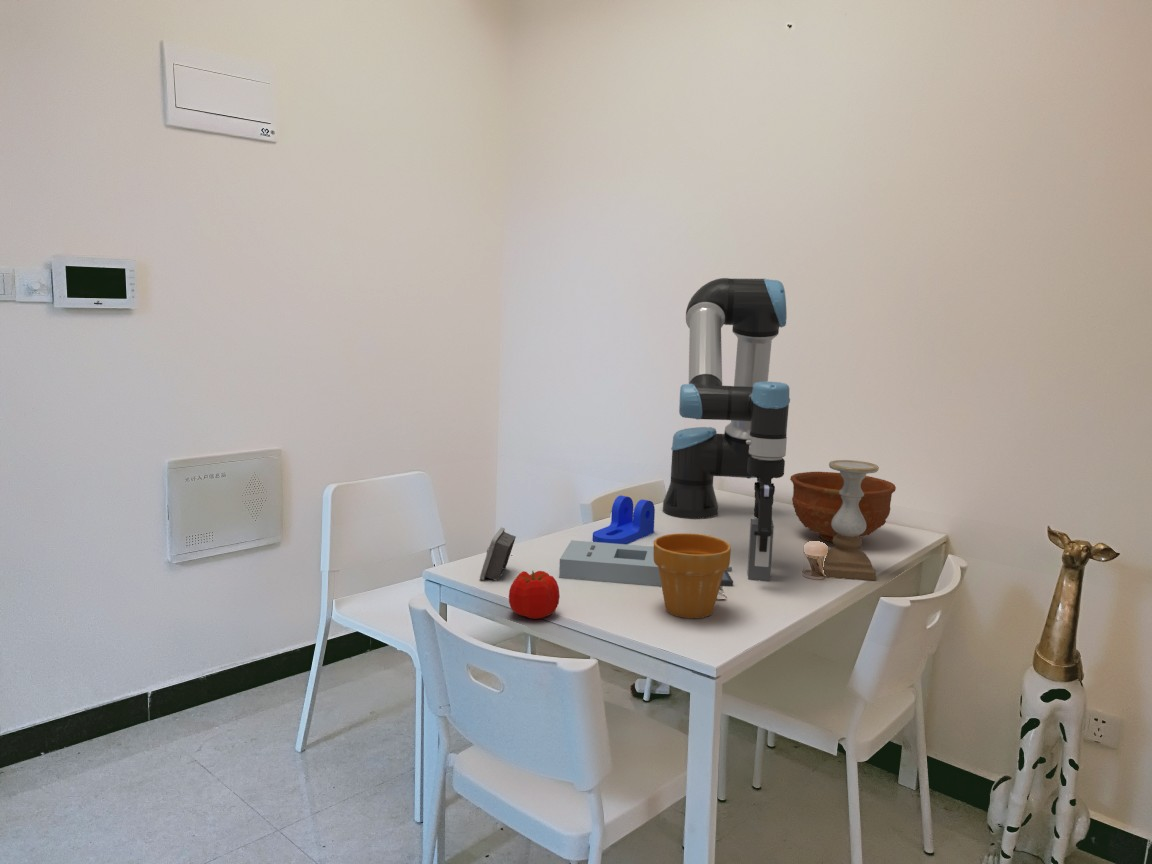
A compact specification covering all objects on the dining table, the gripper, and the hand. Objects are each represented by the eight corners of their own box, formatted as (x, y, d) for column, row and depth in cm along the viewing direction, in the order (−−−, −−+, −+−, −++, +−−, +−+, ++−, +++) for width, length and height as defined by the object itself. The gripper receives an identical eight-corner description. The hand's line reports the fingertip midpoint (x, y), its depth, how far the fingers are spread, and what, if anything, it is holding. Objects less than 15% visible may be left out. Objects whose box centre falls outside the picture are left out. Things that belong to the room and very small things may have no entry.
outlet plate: (570, 557, 185) (571, 539, 185) (669, 565, 182) (670, 546, 181) (559, 577, 172) (559, 558, 171) (665, 586, 168) (666, 566, 168)
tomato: (544, 602, 157) (545, 564, 156) (566, 619, 150) (567, 579, 149) (499, 610, 153) (499, 571, 152) (519, 627, 145) (520, 586, 144)
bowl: (782, 546, 199) (786, 485, 197) (790, 521, 222) (794, 466, 220) (892, 559, 191) (897, 496, 189) (888, 532, 215) (893, 475, 212)
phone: (660, 573, 176) (661, 568, 176) (726, 574, 177) (726, 569, 177) (664, 584, 170) (664, 579, 169) (732, 586, 170) (733, 580, 170)
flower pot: (635, 608, 156) (638, 541, 154) (682, 591, 166) (685, 528, 164) (695, 631, 146) (699, 560, 144) (741, 611, 156) (746, 545, 154)
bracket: (625, 527, 212) (626, 493, 211) (653, 533, 207) (655, 498, 206) (585, 543, 198) (586, 506, 196) (615, 549, 193) (616, 512, 191)
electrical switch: (488, 566, 178) (493, 525, 176) (512, 570, 177) (517, 529, 175) (478, 581, 168) (483, 537, 167) (503, 585, 168) (508, 541, 166)
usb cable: (663, 562, 184) (663, 558, 184) (664, 561, 185) (664, 557, 185) (731, 571, 179) (731, 567, 179) (731, 570, 180) (732, 566, 180)
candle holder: (822, 577, 177) (831, 467, 173) (815, 561, 188) (823, 458, 184) (876, 581, 176) (886, 470, 172) (865, 565, 186) (874, 460, 183)
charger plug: (747, 572, 178) (750, 517, 177) (768, 574, 178) (772, 519, 176) (748, 579, 174) (751, 523, 172) (769, 581, 173) (773, 524, 172)
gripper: (746, 445, 184) (740, 539, 188) (750, 466, 161) (743, 573, 164) (780, 447, 183) (774, 541, 187) (790, 469, 159) (782, 576, 163)
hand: (759, 556), depth 175 cm, fingers open, 12 cm apart
